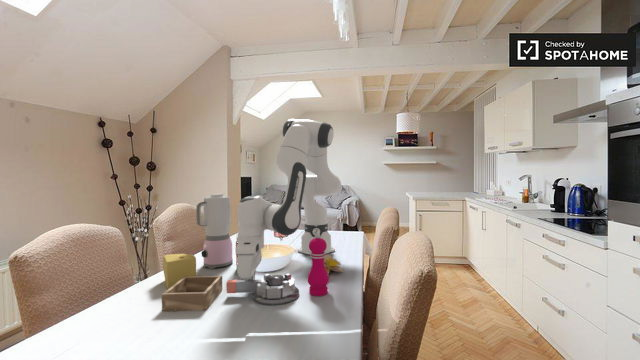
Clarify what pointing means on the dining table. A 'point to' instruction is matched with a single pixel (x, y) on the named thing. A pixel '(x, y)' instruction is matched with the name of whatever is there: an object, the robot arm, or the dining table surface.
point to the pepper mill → (318, 267)
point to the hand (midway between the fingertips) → (251, 282)
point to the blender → (216, 230)
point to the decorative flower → (331, 264)
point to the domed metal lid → (276, 281)
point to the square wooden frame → (192, 293)
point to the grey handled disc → (263, 287)
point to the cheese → (178, 267)
